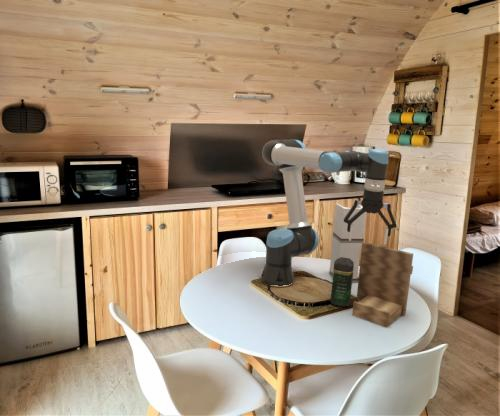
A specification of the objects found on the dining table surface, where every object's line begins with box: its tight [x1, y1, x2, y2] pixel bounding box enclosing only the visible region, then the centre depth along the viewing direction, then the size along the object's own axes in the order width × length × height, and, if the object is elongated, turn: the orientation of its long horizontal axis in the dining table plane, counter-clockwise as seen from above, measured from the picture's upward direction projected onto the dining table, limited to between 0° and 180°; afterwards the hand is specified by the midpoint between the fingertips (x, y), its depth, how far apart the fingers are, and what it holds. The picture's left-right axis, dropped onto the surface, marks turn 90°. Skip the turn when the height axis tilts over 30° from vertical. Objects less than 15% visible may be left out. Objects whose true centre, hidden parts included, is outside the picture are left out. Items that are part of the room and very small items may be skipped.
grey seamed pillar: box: [328, 202, 368, 284], centre depth 204 cm, size 11×11×35 cm
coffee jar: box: [330, 257, 354, 307], centre depth 179 cm, size 10×8×19 cm
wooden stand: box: [351, 241, 414, 328], centre depth 170 cm, size 20×17×25 cm
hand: (367, 241), depth 175 cm, fingers open, 13 cm apart
